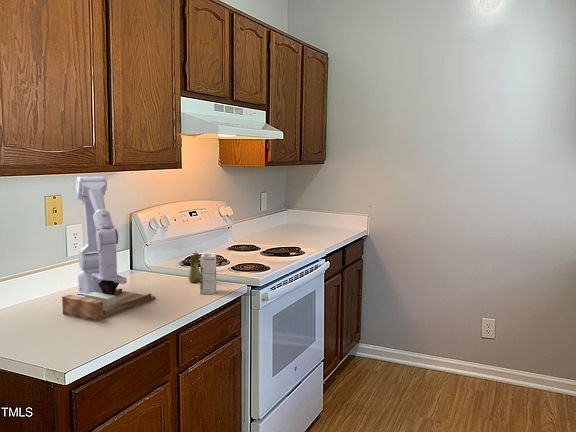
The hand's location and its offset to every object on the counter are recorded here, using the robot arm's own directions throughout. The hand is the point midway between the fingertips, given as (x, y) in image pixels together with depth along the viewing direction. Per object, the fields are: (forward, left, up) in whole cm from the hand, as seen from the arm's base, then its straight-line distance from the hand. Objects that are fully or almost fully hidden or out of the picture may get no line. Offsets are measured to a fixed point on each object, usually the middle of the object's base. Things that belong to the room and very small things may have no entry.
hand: (109, 301), depth 186 cm
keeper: (0, -4, -1) cm, 4 cm away
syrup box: (+19, +32, -2) cm, 37 cm away
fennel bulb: (+5, +42, -2) cm, 42 cm away
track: (0, +1, -2) cm, 2 cm away
